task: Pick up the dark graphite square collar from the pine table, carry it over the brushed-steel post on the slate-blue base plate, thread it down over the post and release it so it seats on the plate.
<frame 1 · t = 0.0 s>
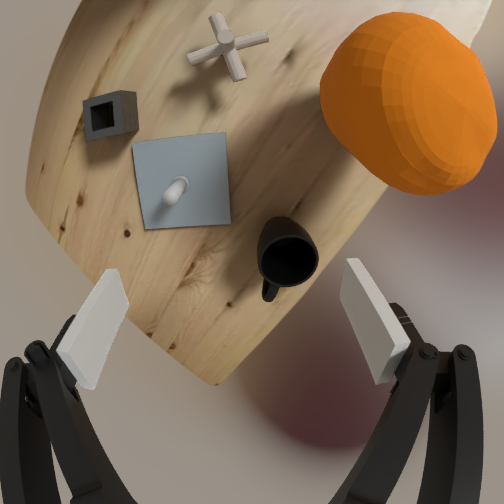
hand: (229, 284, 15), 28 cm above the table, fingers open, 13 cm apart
orange egg-shaped ornament: (346, 101, 35), on the table
mug: (275, 241, 46), on the table
collar: (119, 114, 34), on the table
light grey toy jack: (229, 54, 31), on the table
post block: (182, 181, 40), on the table
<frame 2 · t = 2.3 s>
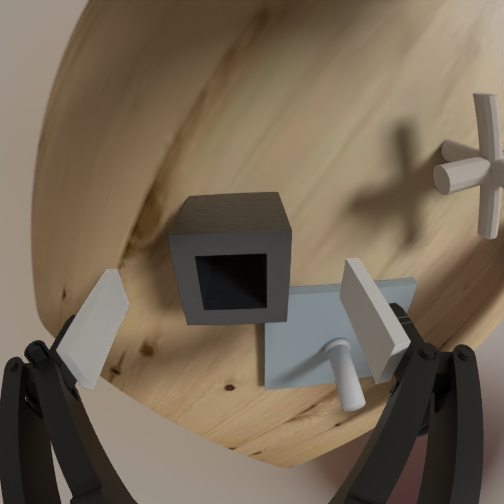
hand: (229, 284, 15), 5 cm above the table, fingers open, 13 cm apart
collar: (235, 233, 20), on the table
light grey toy jack: (447, 149, 17), on the table
post block: (334, 339, 26), on the table
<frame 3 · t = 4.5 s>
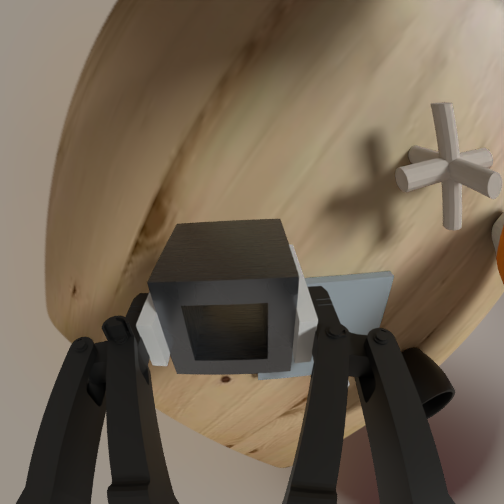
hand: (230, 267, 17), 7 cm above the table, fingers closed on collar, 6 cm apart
orange egg-shaped ornament: (498, 225, 24), on the table
mug: (396, 367, 35), on the table
collar: (231, 265, 17), point 6 cm above the table, touching gripper
light grey toy jack: (414, 154, 21), on the table
post block: (320, 329, 29), on the table
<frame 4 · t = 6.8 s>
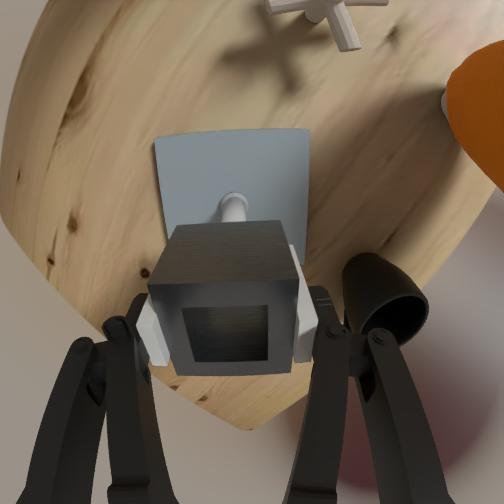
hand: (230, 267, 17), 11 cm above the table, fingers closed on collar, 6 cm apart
orange egg-shaped ornament: (453, 106, 21), on the table
mug: (354, 283, 32), on the table
collar: (231, 267, 17), point 11 cm above the table, touching gripper
light grey toy jack: (313, 15, 18), on the table
post block: (235, 201, 27), on the table
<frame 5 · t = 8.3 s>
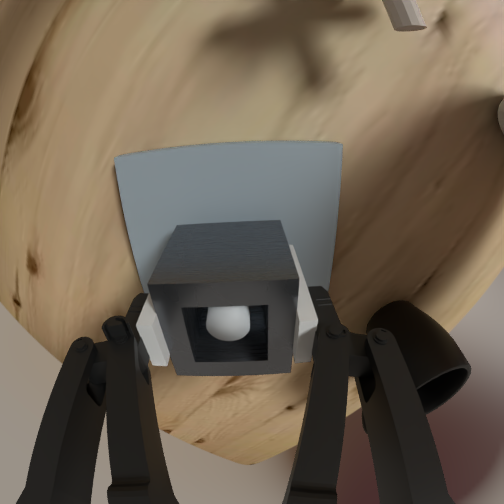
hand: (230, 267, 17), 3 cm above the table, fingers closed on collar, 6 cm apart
mug: (379, 333, 25), on the table
collar: (231, 267, 17), point 2 cm above the table, touching gripper
post block: (232, 244, 19), on the table
when the fingers open (2 cm above the table, at t = 9.2 s): collar stays where it is, resting on post block.
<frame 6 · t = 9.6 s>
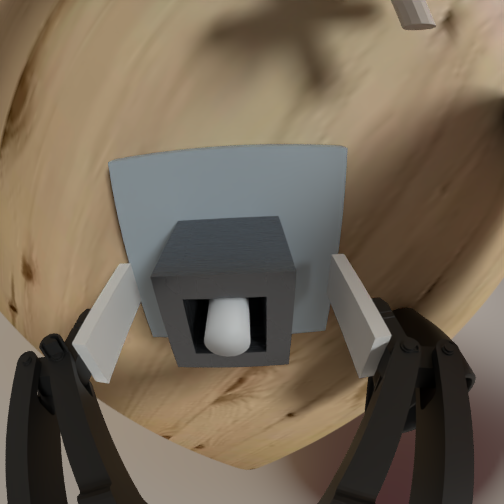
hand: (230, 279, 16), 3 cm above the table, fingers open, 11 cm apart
mug: (382, 341, 24), on the table
collar: (230, 261, 18), point 1 cm above the table, touching post block
post block: (231, 252, 18), on the table
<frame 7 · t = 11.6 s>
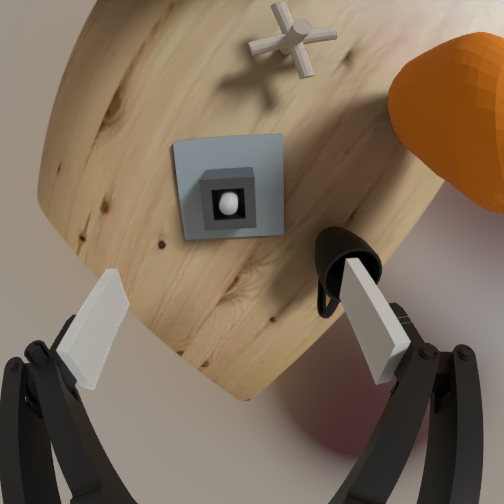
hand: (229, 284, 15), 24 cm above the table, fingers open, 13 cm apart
orange egg-shaped ornament: (401, 108, 31), on the table
mug: (326, 252, 42), on the table
collar: (230, 190, 36), point 1 cm above the table, touching post block
light grey toy jack: (286, 49, 28), on the table
post block: (230, 187, 36), on the table
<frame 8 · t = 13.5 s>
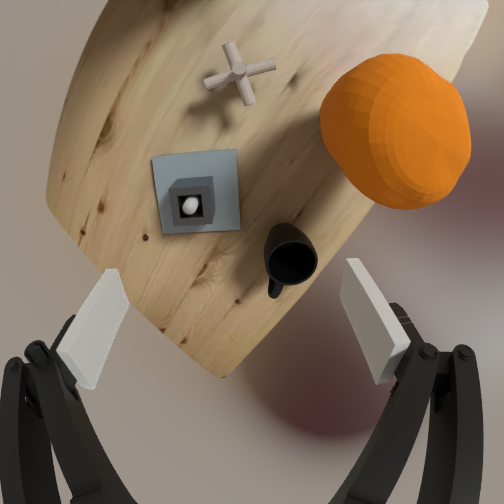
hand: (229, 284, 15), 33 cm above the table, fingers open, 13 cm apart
orange egg-shaped ornament: (343, 120, 40), on the table
mug: (279, 245, 51), on the table
collar: (196, 194, 45), point 1 cm above the table, touching post block
light grey toy jack: (240, 77, 37), on the table
post block: (197, 192, 46), on the table
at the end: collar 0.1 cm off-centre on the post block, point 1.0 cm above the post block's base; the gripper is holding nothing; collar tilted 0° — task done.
